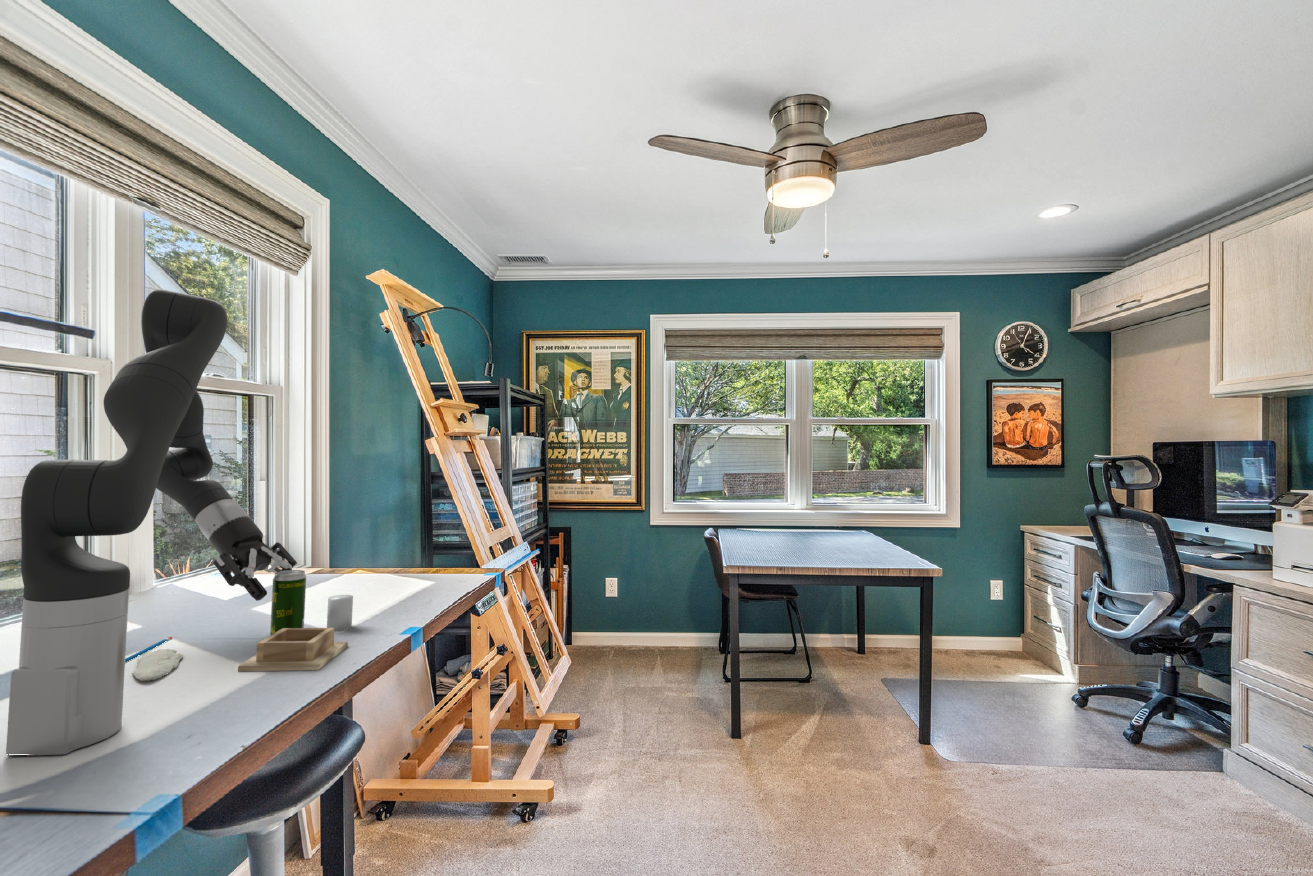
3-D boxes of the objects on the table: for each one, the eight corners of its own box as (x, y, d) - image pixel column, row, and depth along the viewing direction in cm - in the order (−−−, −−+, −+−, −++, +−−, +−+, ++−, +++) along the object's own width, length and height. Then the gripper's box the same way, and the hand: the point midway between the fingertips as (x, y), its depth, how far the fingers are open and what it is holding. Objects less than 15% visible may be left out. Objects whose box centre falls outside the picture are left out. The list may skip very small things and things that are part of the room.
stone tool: (140, 662, 99) (123, 688, 87) (142, 649, 99) (125, 672, 87) (184, 658, 102) (174, 682, 90) (186, 645, 103) (175, 667, 90)
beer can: (301, 631, 116) (304, 568, 116) (305, 638, 111) (308, 573, 112) (268, 635, 112) (271, 571, 113) (271, 643, 108) (274, 576, 109)
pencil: (172, 640, 109) (172, 636, 109) (107, 674, 92) (108, 669, 92) (167, 640, 109) (167, 636, 109) (101, 674, 92) (102, 669, 92)
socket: (318, 670, 96) (319, 646, 96) (237, 671, 94) (239, 646, 94) (347, 646, 108) (348, 624, 108) (276, 647, 106) (277, 625, 106)
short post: (346, 630, 117) (348, 599, 117) (322, 631, 116) (324, 599, 116) (355, 624, 121) (356, 594, 121) (332, 624, 121) (333, 594, 121)
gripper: (209, 518, 107) (264, 587, 105) (271, 511, 121) (320, 571, 119) (182, 547, 108) (235, 615, 106) (246, 537, 122) (294, 597, 120)
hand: (280, 592), depth 112 cm, fingers open, 8 cm apart
